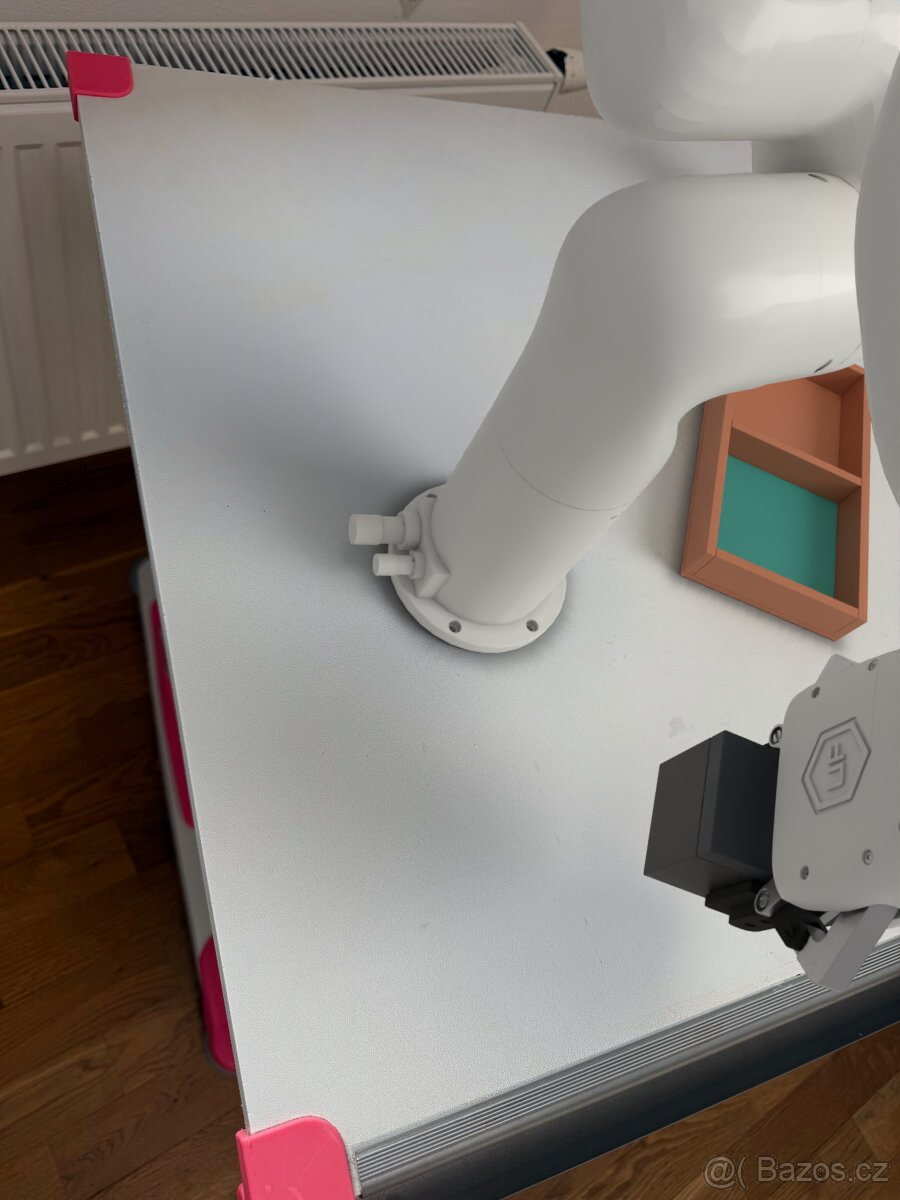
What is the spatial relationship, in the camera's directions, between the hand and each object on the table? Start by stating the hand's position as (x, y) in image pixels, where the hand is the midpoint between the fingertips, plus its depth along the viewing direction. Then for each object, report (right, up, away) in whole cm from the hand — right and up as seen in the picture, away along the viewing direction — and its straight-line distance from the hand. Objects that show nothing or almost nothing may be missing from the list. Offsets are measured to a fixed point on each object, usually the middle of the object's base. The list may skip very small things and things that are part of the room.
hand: (738, 843), depth 49 cm
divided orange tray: (+12, +22, +31) cm, 40 cm away
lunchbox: (0, 0, +1) cm, 1 cm away
